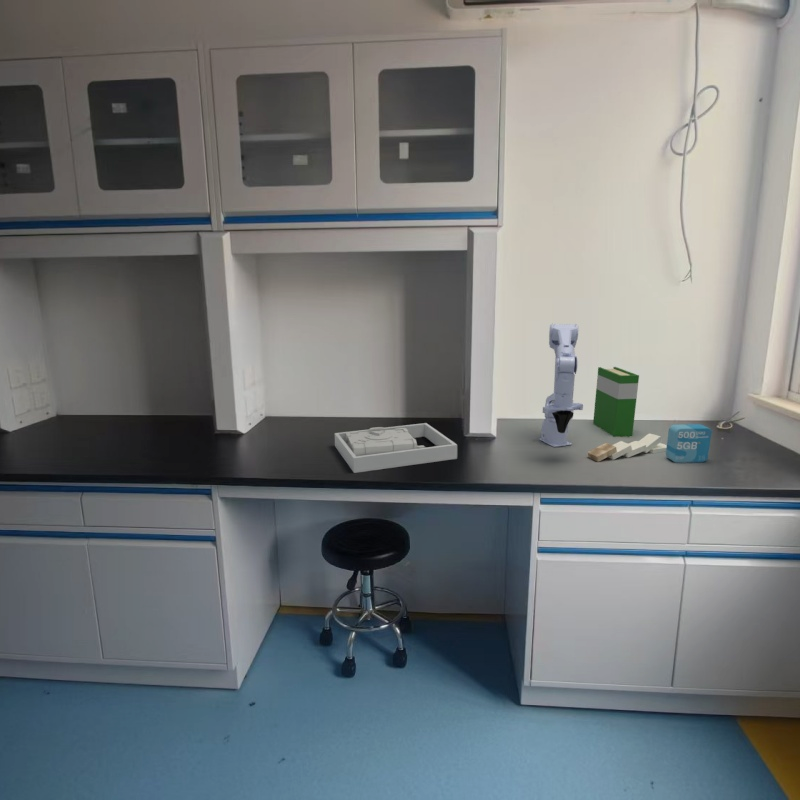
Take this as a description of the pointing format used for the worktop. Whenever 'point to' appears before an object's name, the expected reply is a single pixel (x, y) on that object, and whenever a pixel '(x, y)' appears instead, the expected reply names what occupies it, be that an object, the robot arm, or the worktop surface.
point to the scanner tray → (440, 452)
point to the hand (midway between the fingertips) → (561, 432)
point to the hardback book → (615, 401)
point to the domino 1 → (602, 452)
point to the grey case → (380, 441)
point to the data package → (688, 443)
